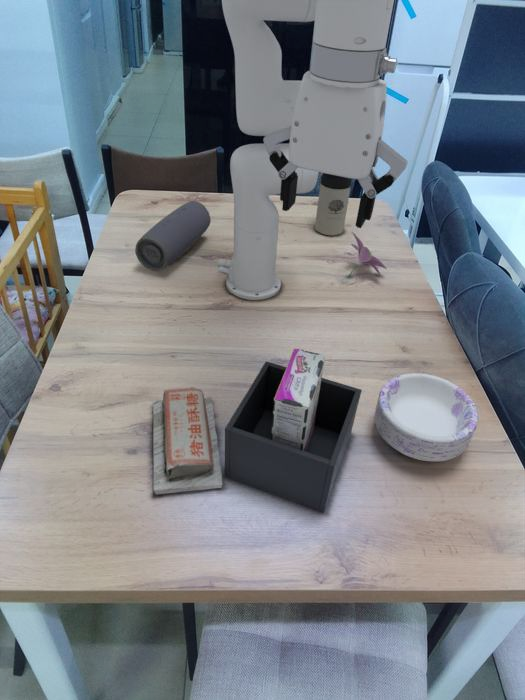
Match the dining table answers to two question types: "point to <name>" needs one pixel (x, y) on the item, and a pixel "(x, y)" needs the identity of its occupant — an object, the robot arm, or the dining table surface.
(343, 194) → the travel mug
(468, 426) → the paper bowls
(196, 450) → the packaged product
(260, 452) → the open storage box
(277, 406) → the candy bar box
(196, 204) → the bluetooth speaker
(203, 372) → the dining table surface
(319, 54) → the robot arm
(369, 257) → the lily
